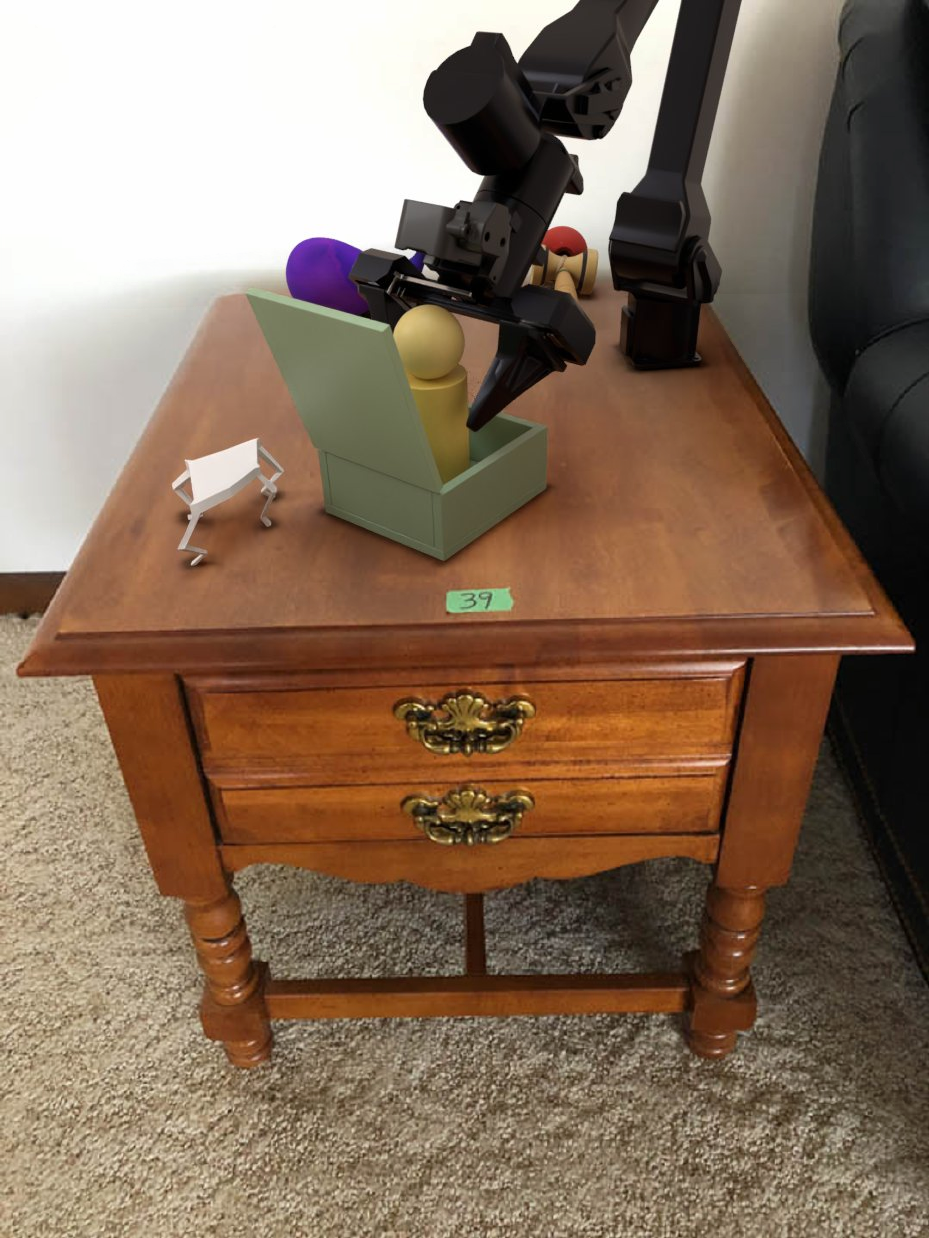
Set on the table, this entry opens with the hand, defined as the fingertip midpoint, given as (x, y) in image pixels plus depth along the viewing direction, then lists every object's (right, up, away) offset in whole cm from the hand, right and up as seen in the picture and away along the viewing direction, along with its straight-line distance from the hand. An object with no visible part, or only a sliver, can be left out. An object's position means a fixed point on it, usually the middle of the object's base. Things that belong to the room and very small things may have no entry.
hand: (419, 412), depth 73 cm
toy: (-8, +18, +38) cm, 43 cm away
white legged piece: (-14, -8, +3) cm, 17 cm away
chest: (+1, -6, +6) cm, 8 cm away
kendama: (+14, +20, +40) cm, 47 cm away
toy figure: (+1, -5, +5) cm, 7 cm away
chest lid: (-4, 0, -7) cm, 8 cm away
